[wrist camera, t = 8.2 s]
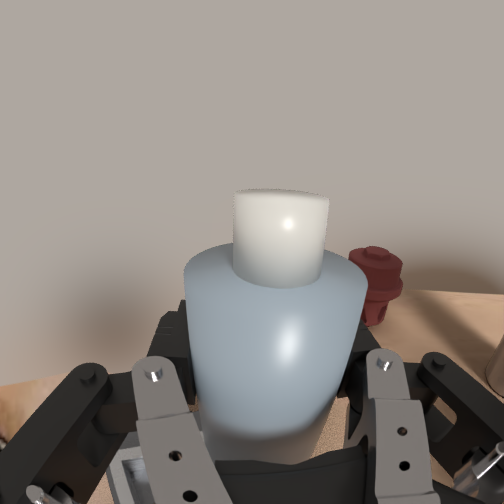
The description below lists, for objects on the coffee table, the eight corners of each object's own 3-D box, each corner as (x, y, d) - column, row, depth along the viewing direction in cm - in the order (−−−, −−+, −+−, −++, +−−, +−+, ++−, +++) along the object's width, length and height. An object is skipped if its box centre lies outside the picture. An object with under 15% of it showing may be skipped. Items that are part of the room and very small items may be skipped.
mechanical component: (360, 347, 35) (320, 314, 44) (401, 327, 39) (362, 301, 48) (381, 268, 31) (331, 243, 40) (421, 257, 35) (374, 237, 43)
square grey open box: (223, 421, 24) (220, 385, 22) (302, 532, 12) (319, 518, 10) (111, 448, 19) (89, 414, 16) (160, 577, 7) (135, 577, 5)
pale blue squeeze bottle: (274, 404, 14) (298, 183, 10) (328, 463, 10) (417, 212, 6) (192, 433, 12) (162, 188, 8) (236, 509, 8) (234, 226, 4)
